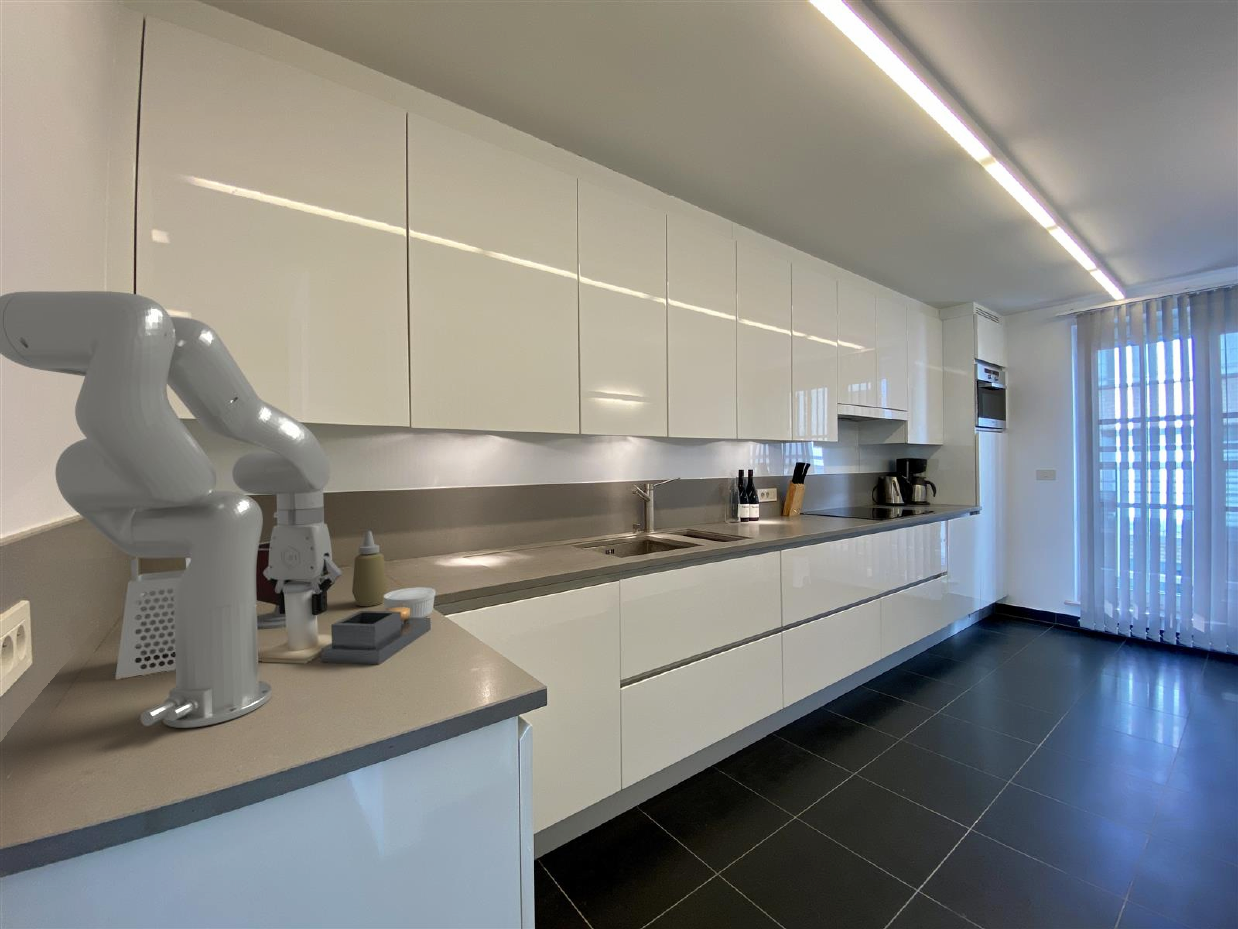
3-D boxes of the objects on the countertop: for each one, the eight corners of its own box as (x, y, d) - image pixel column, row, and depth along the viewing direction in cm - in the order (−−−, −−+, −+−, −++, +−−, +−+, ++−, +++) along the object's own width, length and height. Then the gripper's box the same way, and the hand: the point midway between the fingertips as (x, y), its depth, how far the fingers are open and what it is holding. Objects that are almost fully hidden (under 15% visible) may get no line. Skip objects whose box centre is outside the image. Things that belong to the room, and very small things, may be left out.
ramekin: (385, 611, 122) (385, 589, 122) (436, 606, 126) (435, 584, 126) (381, 626, 112) (380, 601, 112) (435, 620, 115) (435, 596, 115)
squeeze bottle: (348, 609, 124) (346, 534, 123) (356, 600, 132) (354, 530, 131) (385, 606, 126) (383, 533, 126) (390, 598, 134) (389, 528, 133)
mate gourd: (247, 617, 119) (245, 530, 119) (317, 607, 127) (315, 525, 126) (242, 636, 106) (239, 539, 106) (320, 623, 114) (318, 533, 113)
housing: (379, 664, 91) (378, 628, 91) (321, 662, 92) (320, 626, 92) (430, 629, 109) (429, 599, 109) (381, 627, 110) (381, 597, 110)
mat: (305, 663, 92) (305, 659, 92) (254, 661, 93) (254, 656, 93) (349, 639, 104) (349, 635, 104) (303, 637, 105) (303, 633, 105)
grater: (195, 666, 91) (192, 553, 91) (115, 680, 86) (111, 560, 85) (207, 647, 100) (204, 544, 100) (135, 659, 95) (131, 550, 95)
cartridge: (305, 651, 95) (301, 586, 95) (279, 650, 96) (275, 586, 95) (326, 640, 100) (322, 578, 100) (301, 639, 101) (297, 578, 101)
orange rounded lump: (402, 635, 104) (401, 614, 104) (379, 634, 104) (379, 613, 104) (414, 627, 109) (414, 607, 108) (393, 626, 109) (392, 606, 109)
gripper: (243, 520, 95) (245, 617, 95) (329, 520, 93) (331, 620, 93) (275, 515, 103) (277, 606, 103) (355, 515, 100) (358, 608, 101)
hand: (303, 611), depth 98 cm, fingers open, 6 cm apart
